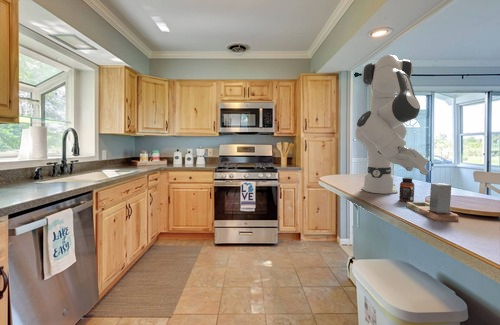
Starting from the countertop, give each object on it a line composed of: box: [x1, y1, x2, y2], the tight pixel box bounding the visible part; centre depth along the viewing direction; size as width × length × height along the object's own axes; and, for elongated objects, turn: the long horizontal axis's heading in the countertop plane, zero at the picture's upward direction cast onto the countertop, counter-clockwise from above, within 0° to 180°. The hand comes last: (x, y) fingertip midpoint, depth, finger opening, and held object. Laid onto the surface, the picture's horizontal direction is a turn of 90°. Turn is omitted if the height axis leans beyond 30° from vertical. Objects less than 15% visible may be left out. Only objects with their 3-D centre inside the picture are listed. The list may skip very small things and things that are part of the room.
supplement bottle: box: [398, 177, 415, 203], centre depth 121 cm, size 6×6×11 cm
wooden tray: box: [406, 201, 460, 222], centre depth 102 cm, size 19×8×2 cm, turn 176°
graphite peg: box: [429, 182, 452, 215], centre depth 96 cm, size 4×4×13 cm
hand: (417, 171), depth 96 cm, fingers open, 8 cm apart
